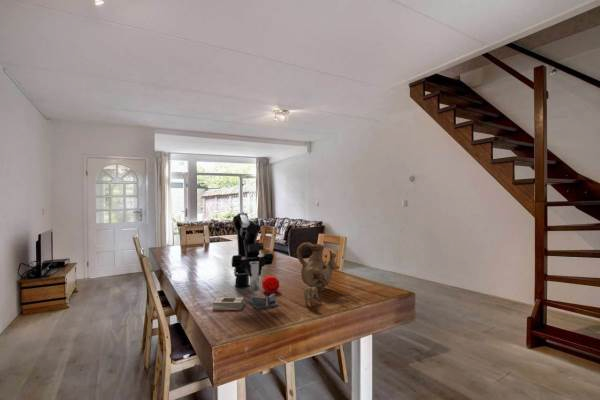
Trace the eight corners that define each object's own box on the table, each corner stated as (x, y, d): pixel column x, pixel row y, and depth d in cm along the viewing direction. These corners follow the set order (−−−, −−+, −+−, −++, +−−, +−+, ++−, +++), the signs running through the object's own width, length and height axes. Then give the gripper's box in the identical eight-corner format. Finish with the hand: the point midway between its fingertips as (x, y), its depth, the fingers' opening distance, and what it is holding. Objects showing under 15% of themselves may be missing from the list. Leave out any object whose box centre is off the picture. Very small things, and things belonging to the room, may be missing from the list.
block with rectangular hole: (217, 304, 138) (217, 297, 138) (243, 303, 138) (243, 297, 138) (212, 309, 131) (212, 302, 131) (240, 309, 131) (240, 302, 131)
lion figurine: (314, 309, 131) (313, 288, 131) (302, 308, 132) (301, 287, 132) (320, 299, 145) (320, 280, 145) (309, 298, 146) (309, 279, 146)
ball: (264, 294, 152) (264, 279, 153) (261, 290, 160) (261, 275, 160) (280, 293, 155) (280, 278, 155) (276, 289, 162) (276, 274, 163)
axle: (253, 288, 139) (253, 261, 139) (260, 289, 137) (260, 262, 137) (248, 290, 135) (248, 263, 135) (256, 291, 133) (256, 264, 134)
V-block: (248, 302, 140) (248, 293, 140) (270, 299, 145) (270, 290, 145) (255, 309, 131) (255, 299, 131) (279, 305, 136) (279, 296, 136)
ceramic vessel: (317, 297, 148) (317, 245, 148) (290, 289, 161) (290, 242, 162) (340, 289, 161) (340, 242, 162) (313, 283, 174) (313, 239, 175)
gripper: (232, 237, 137) (235, 267, 126) (272, 236, 143) (279, 263, 133) (230, 252, 144) (233, 281, 134) (268, 250, 151) (274, 277, 140)
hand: (255, 275), depth 135 cm, fingers closed on axle, 4 cm apart
